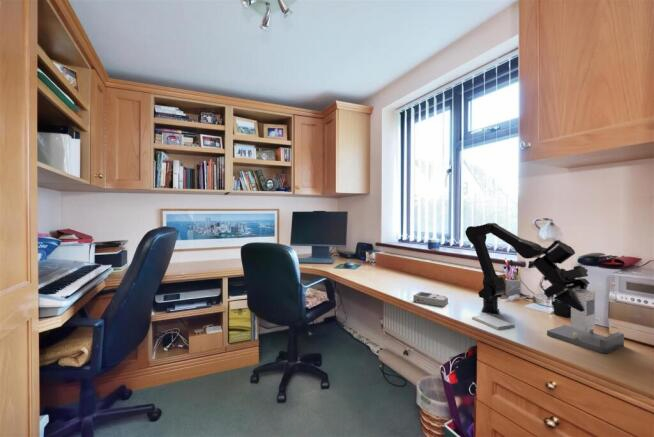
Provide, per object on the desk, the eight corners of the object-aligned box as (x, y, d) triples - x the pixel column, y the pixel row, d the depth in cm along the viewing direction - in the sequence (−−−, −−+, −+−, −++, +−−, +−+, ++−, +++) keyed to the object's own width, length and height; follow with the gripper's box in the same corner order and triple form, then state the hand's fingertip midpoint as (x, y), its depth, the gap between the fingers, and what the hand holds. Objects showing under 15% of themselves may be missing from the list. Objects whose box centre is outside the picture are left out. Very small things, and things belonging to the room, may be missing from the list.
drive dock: (547, 334, 101) (547, 323, 101) (565, 328, 106) (565, 318, 106) (606, 354, 87) (606, 341, 87) (623, 346, 92) (623, 333, 92)
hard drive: (514, 324, 108) (487, 313, 120) (498, 327, 106) (472, 316, 118) (514, 328, 108) (487, 317, 120) (498, 331, 106) (472, 320, 118)
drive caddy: (570, 327, 97) (570, 290, 97) (580, 324, 100) (580, 288, 100) (585, 331, 93) (585, 293, 93) (595, 328, 96) (595, 291, 96)
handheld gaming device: (443, 307, 133) (443, 299, 133) (413, 302, 143) (413, 294, 143) (448, 303, 140) (448, 295, 140) (419, 298, 150) (419, 291, 150)
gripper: (554, 259, 96) (596, 301, 86) (582, 256, 104) (623, 293, 94) (529, 278, 103) (565, 318, 93) (557, 273, 111) (593, 310, 101)
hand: (588, 309), depth 95 cm, fingers closed on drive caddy, 6 cm apart
